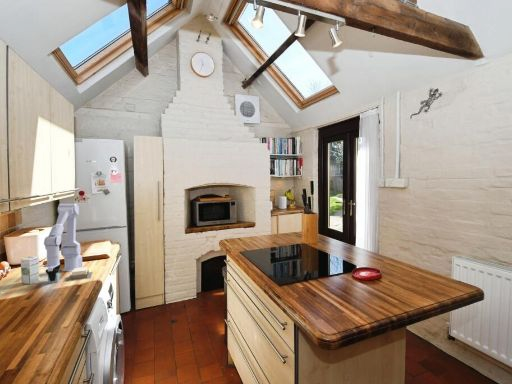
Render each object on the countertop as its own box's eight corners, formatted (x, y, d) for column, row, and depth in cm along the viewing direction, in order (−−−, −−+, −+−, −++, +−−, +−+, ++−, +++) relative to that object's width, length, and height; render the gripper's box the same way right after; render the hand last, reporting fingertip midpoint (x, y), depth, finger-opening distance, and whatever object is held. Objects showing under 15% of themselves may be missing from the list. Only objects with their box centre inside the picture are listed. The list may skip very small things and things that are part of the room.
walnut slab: (73, 275, 160) (73, 271, 160) (88, 273, 164) (88, 269, 164) (71, 279, 153) (71, 276, 153) (87, 277, 157) (87, 274, 157)
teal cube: (50, 281, 152) (49, 273, 151) (59, 279, 154) (59, 272, 153) (48, 283, 148) (47, 276, 147) (57, 282, 150) (57, 275, 149)
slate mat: (70, 275, 161) (70, 274, 161) (92, 272, 167) (92, 271, 167) (66, 282, 150) (66, 281, 150) (90, 278, 156) (90, 278, 156)
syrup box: (39, 280, 152) (39, 256, 151) (30, 284, 146) (29, 259, 146) (31, 280, 153) (30, 255, 152) (21, 284, 147) (20, 259, 146)
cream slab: (74, 271, 160) (74, 268, 160) (87, 270, 163) (87, 266, 163) (72, 275, 154) (72, 272, 154) (86, 273, 157) (86, 270, 157)
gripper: (47, 253, 155) (48, 276, 155) (40, 261, 142) (41, 285, 142) (62, 252, 158) (62, 274, 158) (56, 259, 145) (57, 283, 145)
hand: (53, 279), depth 151 cm, fingers closed on teal cube, 4 cm apart
